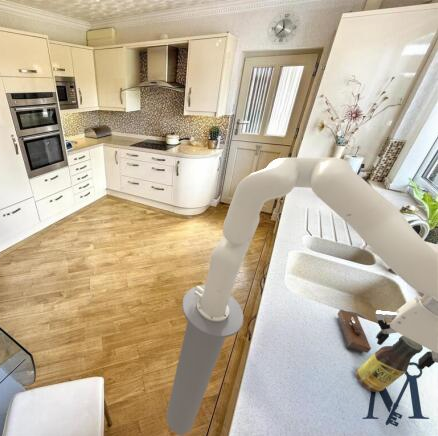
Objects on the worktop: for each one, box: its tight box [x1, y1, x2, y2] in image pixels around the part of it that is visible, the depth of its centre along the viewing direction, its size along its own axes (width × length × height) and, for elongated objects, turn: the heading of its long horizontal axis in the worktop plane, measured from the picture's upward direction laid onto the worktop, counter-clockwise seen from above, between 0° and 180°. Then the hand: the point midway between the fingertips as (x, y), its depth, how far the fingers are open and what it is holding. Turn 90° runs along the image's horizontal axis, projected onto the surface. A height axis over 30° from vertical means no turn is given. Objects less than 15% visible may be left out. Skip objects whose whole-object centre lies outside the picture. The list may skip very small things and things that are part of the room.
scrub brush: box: [336, 309, 372, 354], centre depth 80 cm, size 14×5×6 cm, turn 157°
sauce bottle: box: [355, 335, 424, 393], centre depth 64 cm, size 6×6×20 cm
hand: (399, 352), depth 61 cm, fingers open, 7 cm apart
